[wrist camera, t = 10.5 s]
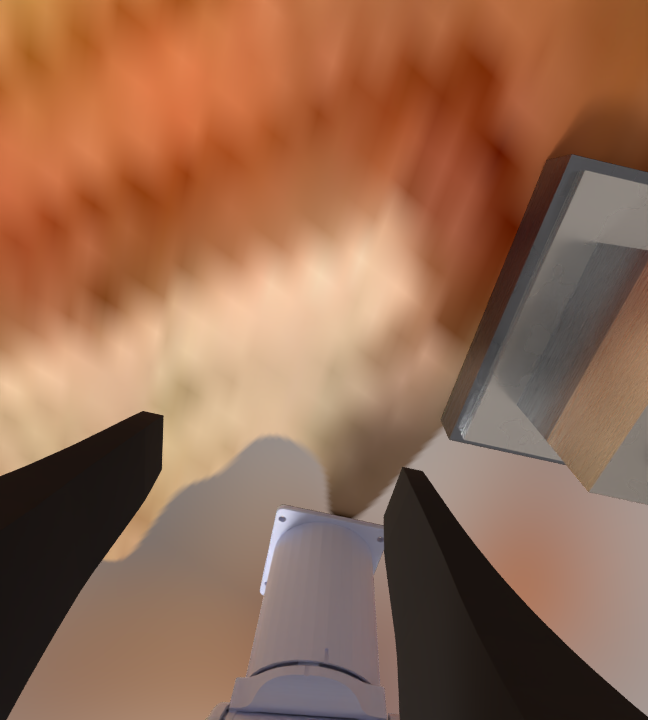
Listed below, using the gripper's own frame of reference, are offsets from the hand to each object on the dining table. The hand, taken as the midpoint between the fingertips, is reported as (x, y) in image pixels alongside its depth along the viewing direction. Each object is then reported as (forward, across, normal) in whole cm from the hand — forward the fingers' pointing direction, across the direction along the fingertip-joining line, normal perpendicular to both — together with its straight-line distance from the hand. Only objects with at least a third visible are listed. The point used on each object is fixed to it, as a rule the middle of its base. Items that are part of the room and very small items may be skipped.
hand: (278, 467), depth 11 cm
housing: (+8, -13, -4) cm, 16 cm away
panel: (+10, -13, -4) cm, 17 cm away
